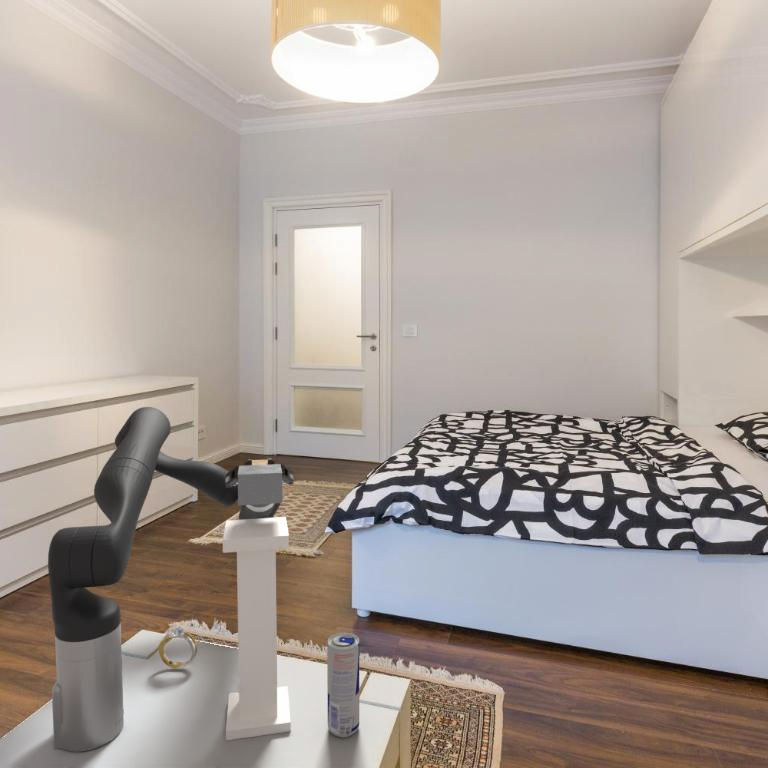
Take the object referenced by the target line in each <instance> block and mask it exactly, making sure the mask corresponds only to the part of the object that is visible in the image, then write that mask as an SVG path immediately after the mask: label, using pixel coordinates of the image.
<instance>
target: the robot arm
mask: <svg viewBox="0 0 768 768" xmlns="http://www.w3.org/2000/svg"><path fill="white" fill-rule="evenodd" d="M171 428H172V426H171V421H170V420H169V418H168V417H167V415H166V414H165V413H164V412H163V411H161V410H160V409H158V408H155V407H151V406H143V407H139V408H137V409H136V410H135V411H133V412H132V413H131V414H130V415H129V417H128V418H127V419H126V421H125V423H124V424H123V426H121V428H120V430H119V432H118V433H117V434H116V435H115V436H116V437H115V439H114V444H115V447H116V448H115V450H114V451H113V453H112V454H111V455H110V457H109V458H108V459H107V461H106V462H105V464H104V466H103V467H102V469H101V471H100V473H99V476H98V477H97V480H96V482H95V484H94V488H93V495H94V498H95V499H94V500H95V502H96V504H97V506H98V507H99V509H100V510H101V511H102V513H103V514H104V515H105V517H106V518H107V519H108V520H109V521H110V522H111V523H109V524H105V525H104V524H103V525H91V526H90V525H89V526H72V527H71V526H70V527H64V528H62V529H59V530H58V531H56V532H55V533H54V534H53V536H52V538H51V540H50V544H49V548H48V554H47V555H48V556H47V570H48V571H47V572H48V582H49V589H50V601H51V615H52V622H53V625H54V642H55V643H54V646H55V669H56V671H55V672H56V681H55V683H54V685H53V686H52V688H51V702H52V726H53V727H52V730H53V749H63V750H66V751H70V752H85V751H91V750H94V749H97V748H100V747H101V746H103V745H106V744H107V743H109V742H111V741H113V739H115V738H116V737H117V736H118V735H119V734H120V733H121V731H122V730H123V727H124V719H125V718H124V713H125V711H124V689H123V683H124V682H123V659H122V658H123V657H122V656H123V655H122V654H123V653H122V625H121V623H122V622H121V619H122V618H121V616H122V615H121V608H120V605H119V604H118V602H116V601H115V600H113V599H111V598H109V597H105V596H101V595H98V594H95V593H94V592H92V591H90V590H88V589H87V588H97V587H106V586H111V585H115V584H117V583H118V582H120V581H121V580H122V578H123V577H124V574H125V573H126V570H127V568H128V565H129V561H130V557H131V552H132V547H133V543H134V539H135V533H136V530H137V525H138V521H139V518H140V515H141V512H142V510H143V507H144V505H145V502H146V499H147V497H148V495H149V491H150V488H151V484H152V483H153V477H154V474H155V471H156V472H158V473H160V474H162V475H164V476H167V477H170V478H172V479H174V480H177V481H180V482H182V483H184V484H186V485H188V486H190V487H191V488H194V489H196V490H198V491H200V492H201V493H203V494H204V495H206V496H208V497H209V498H211V499H212V500H214V501H215V502H218V503H219V504H220V505H222V506H224V507H227V508H230V507H232V506H233V505H234V504H235V503H236V502H238V470H239V466H240V465H236V466H235V467H233V468H232V469H231V470H230V471H229V470H227V469H226V468H223V467H222V466H221V465H218V464H216V463H213V462H209V461H202V460H200V461H199V460H198V461H197V460H187V459H179V458H176V457H172V456H169V455H168V454H165V453H164V452H162V451H161V449H162V447H163V446H164V443H165V442H166V440H167V439H168V437H169V436H170V434H171V430H172V429H171ZM252 460H253V459H252V458H250V459H247V461H245V462H244V463H243V466H248V465H252ZM267 460H268V465H272V464H276V460H272V458H267ZM280 464H281V469H282V483H283V484H287V485H289V486H290V485H294V483H295V482H294V471H293V470H291V469H290V468H289V467H288V466H286V465H285V464H282V463H280ZM281 504H282V503H273V504H255V505H241V508H240V510H239V512H238V520H244V519H260V518H275V517H274V516H275V515H276V513H277V511H278V510H279V508H280V506H281Z"/></svg>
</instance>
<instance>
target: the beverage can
mask: <svg viewBox="0 0 768 768" xmlns="http://www.w3.org/2000/svg"><path fill="white" fill-rule="evenodd" d="M326 646H327V650H326V652H327V653H326V654H327V655H326V656H327V657H326V658H327V667H326V668H327V672H326V673H327V678H326V679H327V682H326V683H327V685H326V686H327V728H328V730H329V732H331V734H333V735H334V736H336V737H338V738H348V737H350V736H353V734H355V733H356V732H357V731H358V729H359V727H360V639H359V637H358V636H357V635H356V634H354V633H350V632H339V633H335V634H332V635H331V636H329V637H328V639H327V645H326Z"/></svg>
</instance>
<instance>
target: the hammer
mask: <svg viewBox="0 0 768 768" xmlns="http://www.w3.org/2000/svg"><path fill="white" fill-rule="evenodd" d="M281 464H282V463H275V464H272V465H268V459H252V465H248V466H244V465H238V466H239V470H238V500H237V505H238V506H242V505H255V504H273V503H281V504H282V503H283V482H282V469H281Z"/></svg>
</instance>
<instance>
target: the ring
mask: <svg viewBox="0 0 768 768" xmlns="http://www.w3.org/2000/svg"><path fill="white" fill-rule="evenodd" d="M175 638H176V639H178V638H179V639H182V640H185V641H187V643H188V645H189V646H190V649H191V655H190V656H191V657H190V658H189V660H188V661H186V662H183V663H181V662H177V663H176V662H173V661H172V660H170V659H169V658H168V656H167V654H166V652H165V644H166V643H167V642H169V641H171V640H173V639H175ZM197 652H198V643H197V640H196V639H195V637H194V636H193V635H192V634H191V633H190V632H188V631H186V629H185V628H183V627H181V626H178V627H177V626H175V627H174V628H173V630H172V629H168V630H167V633H166V635H164V637H163V638H162V640H161V642H160V643H159V645H158V655H159V657H160V659H161V661H162V662H163V664H165V665H166V666H168V667H169V668H171V669H173V670H175V669H179V670H182V669H186V668H187V667H189V666H190V665H191V664H192V662H194V660H195V659H196V656H197Z"/></svg>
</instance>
